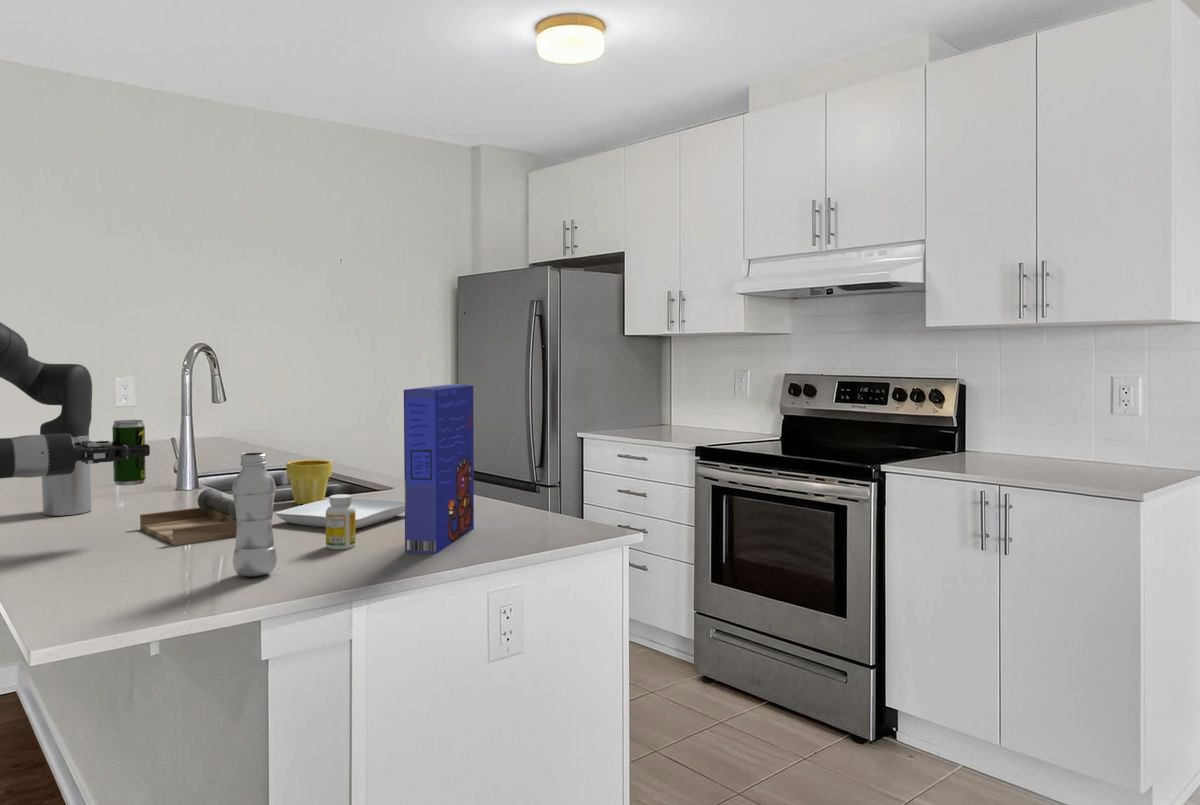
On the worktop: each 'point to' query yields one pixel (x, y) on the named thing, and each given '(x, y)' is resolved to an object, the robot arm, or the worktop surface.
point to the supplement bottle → (340, 523)
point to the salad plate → (364, 508)
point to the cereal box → (438, 466)
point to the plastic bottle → (254, 517)
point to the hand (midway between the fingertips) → (143, 448)
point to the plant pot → (309, 479)
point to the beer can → (133, 467)
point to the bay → (194, 521)
